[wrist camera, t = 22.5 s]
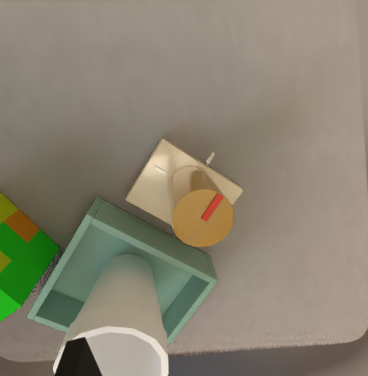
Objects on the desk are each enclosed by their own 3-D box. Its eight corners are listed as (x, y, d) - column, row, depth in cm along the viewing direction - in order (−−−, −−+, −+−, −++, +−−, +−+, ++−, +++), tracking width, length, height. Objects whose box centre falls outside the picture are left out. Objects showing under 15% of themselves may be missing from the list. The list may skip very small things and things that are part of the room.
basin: (44, 286, 34) (25, 317, 29) (97, 196, 32) (86, 214, 26) (153, 331, 39) (153, 366, 34) (209, 255, 36) (218, 280, 31)
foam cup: (176, 285, 36) (187, 382, 23) (115, 314, 36) (95, 424, 24) (141, 230, 33) (133, 307, 20) (76, 263, 33) (29, 358, 21)
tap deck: (127, 192, 32) (124, 200, 29) (169, 123, 30) (171, 125, 27) (201, 233, 34) (205, 244, 32) (245, 172, 32) (253, 178, 30)
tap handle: (197, 216, 31) (212, 258, 22) (158, 195, 30) (159, 232, 21) (221, 180, 30) (247, 209, 21) (183, 156, 28) (194, 178, 20)
